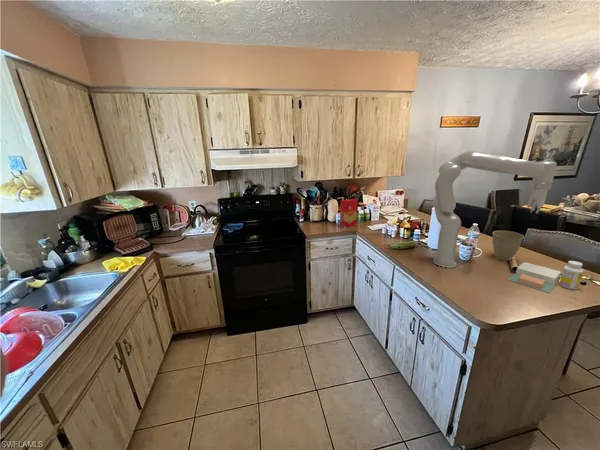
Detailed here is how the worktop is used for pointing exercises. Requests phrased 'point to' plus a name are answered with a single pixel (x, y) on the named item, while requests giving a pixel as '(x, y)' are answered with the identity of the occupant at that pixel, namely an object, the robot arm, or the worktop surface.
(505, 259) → the plant pot
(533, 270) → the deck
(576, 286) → the supplement bottle
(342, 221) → the food packaging
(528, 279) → the tile
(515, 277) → the mat
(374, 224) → the worktop surface
